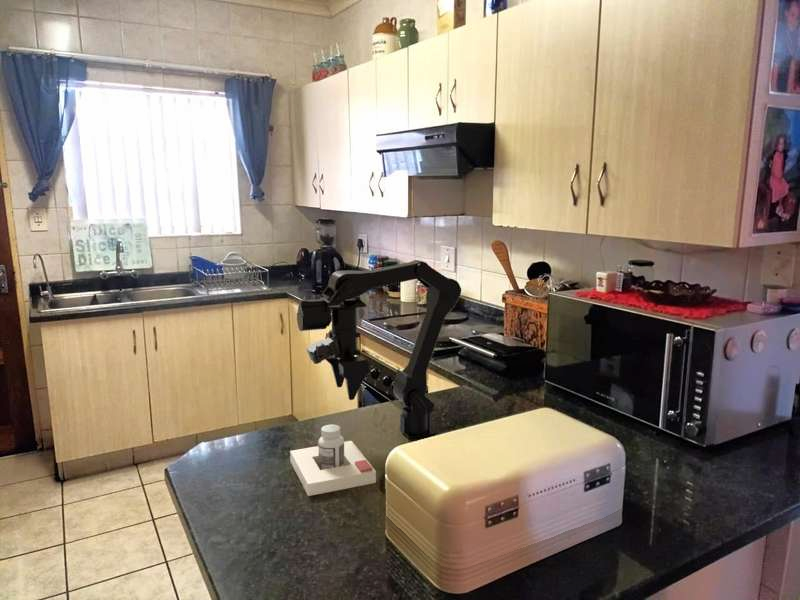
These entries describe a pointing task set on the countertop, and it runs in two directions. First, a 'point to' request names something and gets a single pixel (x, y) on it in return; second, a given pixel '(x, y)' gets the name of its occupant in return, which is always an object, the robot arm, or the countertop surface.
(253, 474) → the countertop surface
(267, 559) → the countertop surface
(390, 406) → the countertop surface
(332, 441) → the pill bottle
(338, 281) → the robot arm
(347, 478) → the socket plate
